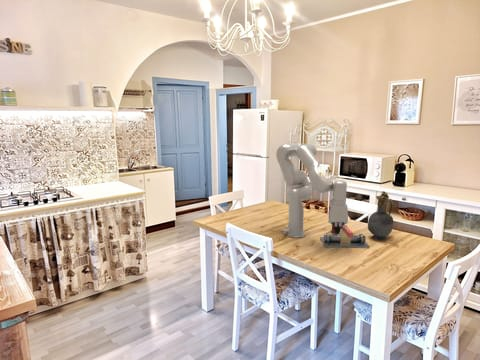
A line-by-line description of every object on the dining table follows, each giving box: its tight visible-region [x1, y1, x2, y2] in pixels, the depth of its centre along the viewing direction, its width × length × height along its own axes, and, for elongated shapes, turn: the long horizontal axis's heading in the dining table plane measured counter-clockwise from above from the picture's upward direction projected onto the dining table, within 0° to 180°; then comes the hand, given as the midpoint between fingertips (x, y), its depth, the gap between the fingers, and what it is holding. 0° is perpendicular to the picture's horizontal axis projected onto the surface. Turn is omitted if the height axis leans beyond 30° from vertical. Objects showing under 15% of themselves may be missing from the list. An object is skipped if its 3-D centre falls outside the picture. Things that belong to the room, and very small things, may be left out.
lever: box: [342, 224, 354, 238], centre depth 189 cm, size 14×3×3 cm, turn 177°
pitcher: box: [367, 190, 394, 241], centre depth 202 cm, size 11×19×30 cm, turn 124°
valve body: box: [320, 229, 371, 249], centre depth 195 cm, size 26×14×8 cm, turn 87°
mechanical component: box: [330, 222, 347, 235], centre depth 212 cm, size 12×10×10 cm
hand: (337, 232), depth 187 cm, fingers closed
